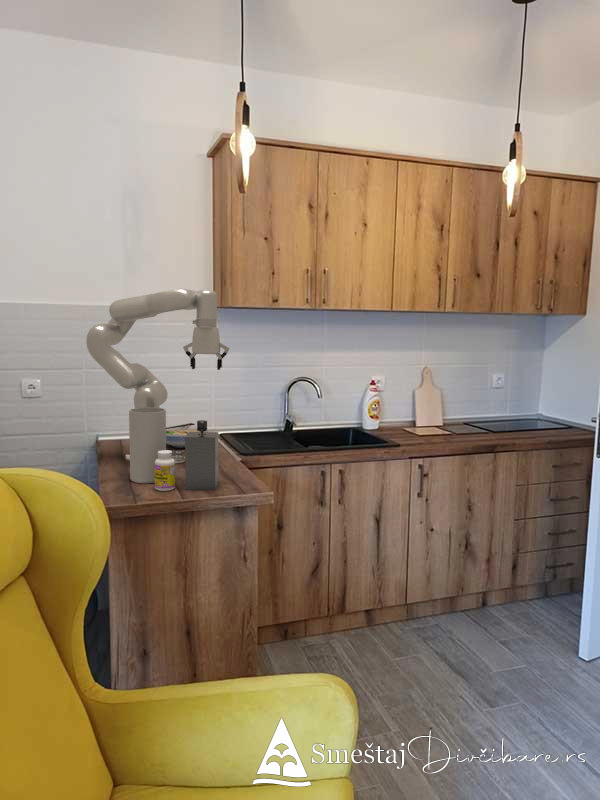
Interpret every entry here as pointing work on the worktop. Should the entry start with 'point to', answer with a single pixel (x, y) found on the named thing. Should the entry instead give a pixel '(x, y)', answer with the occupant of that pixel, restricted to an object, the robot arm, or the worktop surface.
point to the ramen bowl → (179, 434)
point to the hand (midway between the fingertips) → (206, 369)
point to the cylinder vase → (146, 442)
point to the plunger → (202, 426)
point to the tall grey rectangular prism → (201, 461)
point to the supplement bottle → (164, 471)
